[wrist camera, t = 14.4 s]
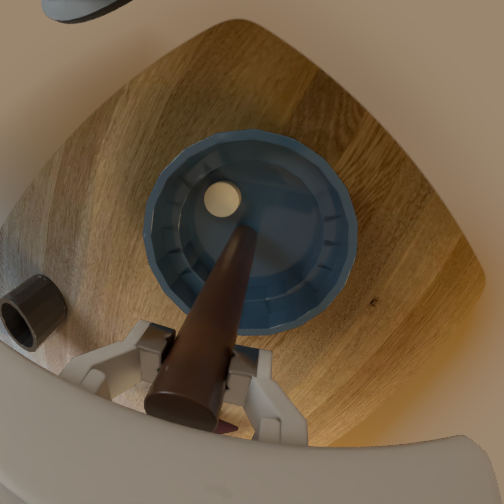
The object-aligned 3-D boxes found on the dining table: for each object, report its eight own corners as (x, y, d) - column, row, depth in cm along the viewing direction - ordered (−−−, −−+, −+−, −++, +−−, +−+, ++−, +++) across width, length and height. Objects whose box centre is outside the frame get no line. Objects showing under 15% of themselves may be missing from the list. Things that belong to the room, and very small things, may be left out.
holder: (25, 292, 35) (-5, 315, 27) (38, 263, 32) (3, 286, 25) (57, 332, 37) (30, 359, 29) (74, 307, 34) (43, 337, 27)
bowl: (137, 215, 28) (108, 231, 23) (262, 98, 23) (258, 83, 18) (245, 328, 32) (238, 363, 26) (373, 238, 27) (394, 259, 21)
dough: (201, 193, 26) (196, 195, 25) (228, 173, 25) (225, 175, 24) (221, 219, 27) (217, 224, 25) (248, 201, 26) (246, 204, 25)
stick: (226, 236, 26) (130, 406, 7) (245, 219, 26) (170, 381, 7) (244, 254, 27) (186, 444, 8) (262, 238, 26) (233, 426, 7)
